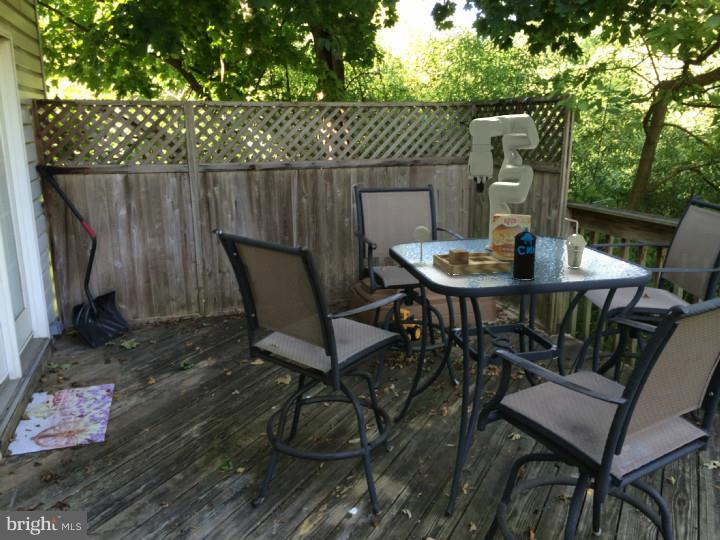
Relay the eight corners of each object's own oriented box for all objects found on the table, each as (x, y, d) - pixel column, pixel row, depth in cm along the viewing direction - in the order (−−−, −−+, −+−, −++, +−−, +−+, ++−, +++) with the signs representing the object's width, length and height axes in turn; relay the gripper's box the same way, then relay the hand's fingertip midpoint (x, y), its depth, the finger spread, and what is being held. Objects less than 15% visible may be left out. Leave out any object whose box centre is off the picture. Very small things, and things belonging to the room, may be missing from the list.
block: (462, 263, 236) (463, 248, 234) (468, 266, 230) (469, 251, 229) (448, 264, 235) (449, 249, 233) (454, 267, 229) (454, 252, 227)
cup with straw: (574, 270, 232) (578, 221, 227) (557, 266, 240) (560, 218, 235) (589, 268, 236) (593, 219, 231) (572, 264, 243) (575, 216, 239)
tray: (488, 260, 252) (488, 251, 251) (510, 272, 230) (511, 262, 230) (433, 263, 247) (433, 254, 246) (450, 275, 226) (450, 265, 225)
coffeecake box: (491, 259, 254) (492, 215, 250) (494, 256, 261) (496, 213, 256) (526, 262, 248) (528, 216, 244) (528, 258, 254) (531, 214, 250)
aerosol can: (509, 275, 225) (511, 224, 220) (529, 275, 225) (532, 224, 221) (516, 281, 217) (519, 228, 212) (537, 280, 217) (540, 227, 213)
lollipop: (430, 258, 257) (431, 225, 254) (427, 262, 251) (427, 227, 247) (415, 257, 260) (415, 224, 256) (411, 261, 253) (411, 227, 250)
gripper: (494, 148, 251) (492, 191, 255) (461, 149, 248) (460, 192, 252) (501, 148, 244) (499, 192, 248) (467, 149, 241) (466, 193, 245)
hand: (479, 192), depth 250 cm, fingers closed
